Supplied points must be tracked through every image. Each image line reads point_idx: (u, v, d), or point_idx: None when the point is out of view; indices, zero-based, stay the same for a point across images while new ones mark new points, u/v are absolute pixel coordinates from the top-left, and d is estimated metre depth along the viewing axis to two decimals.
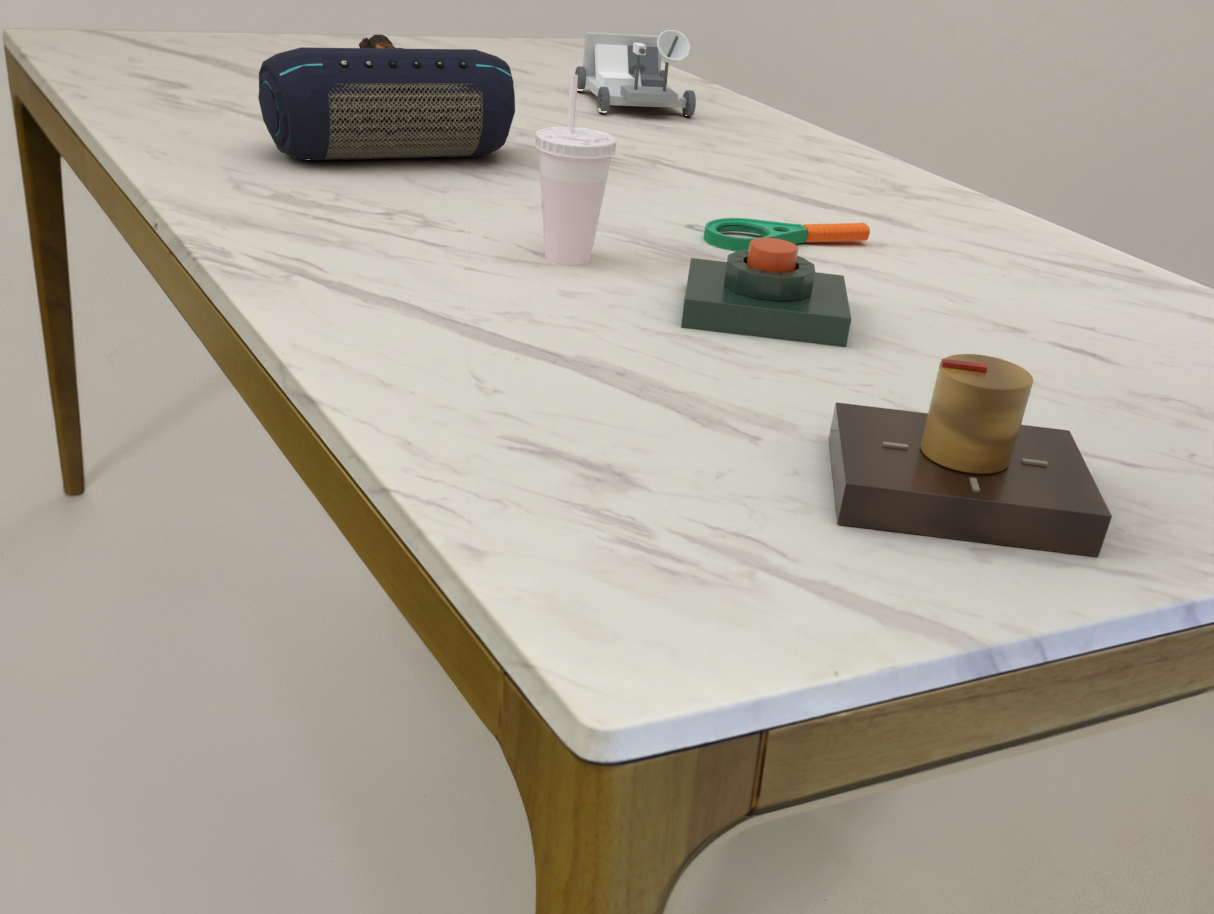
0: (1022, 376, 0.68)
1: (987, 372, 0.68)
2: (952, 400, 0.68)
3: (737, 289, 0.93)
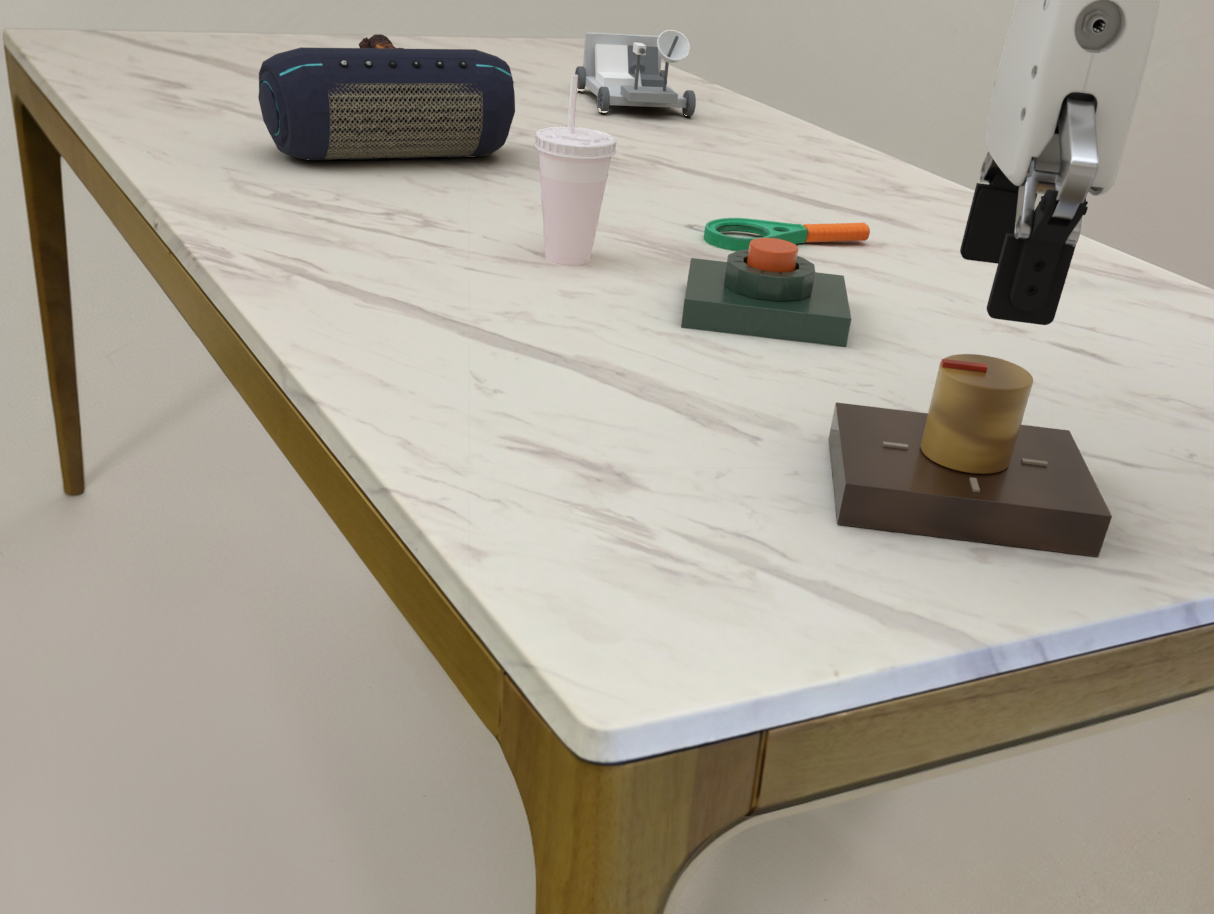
0: (1022, 376, 0.68)
1: (987, 372, 0.68)
2: (952, 400, 0.68)
3: (737, 289, 0.93)
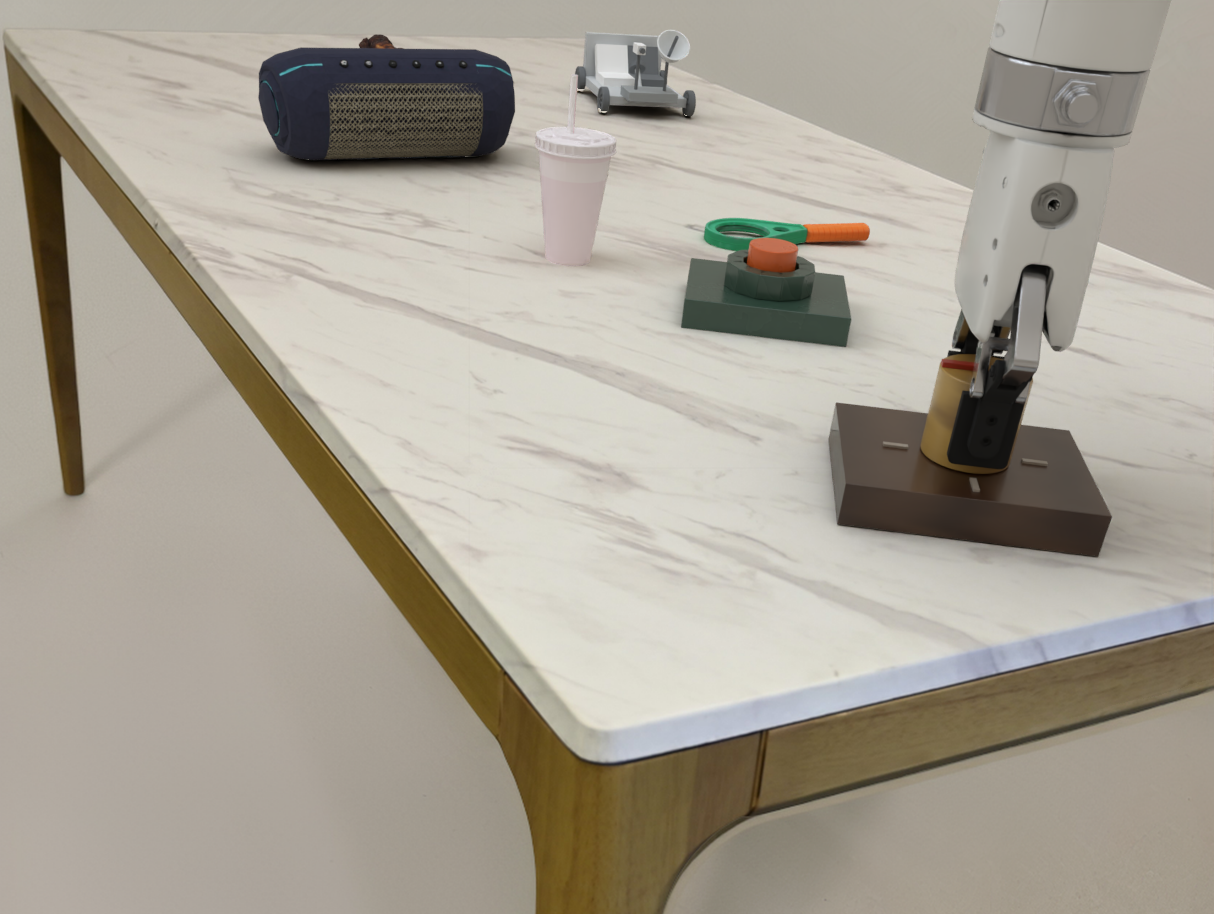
0: None
1: None
2: (952, 400, 0.68)
3: (737, 289, 0.93)
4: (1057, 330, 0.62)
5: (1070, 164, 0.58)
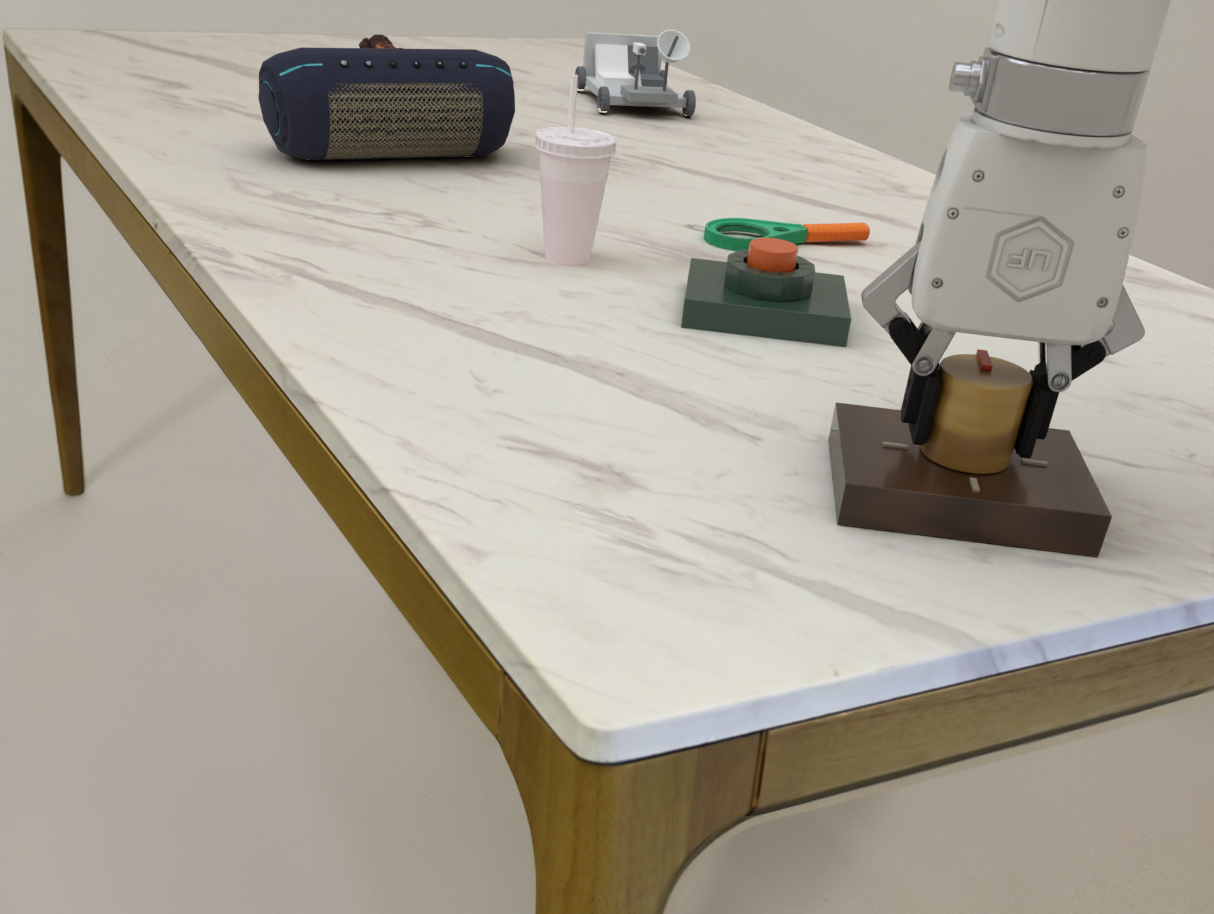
0: (986, 383, 0.67)
1: (982, 370, 0.69)
2: None
3: (737, 289, 0.93)
4: (913, 292, 0.65)
5: (953, 133, 0.62)
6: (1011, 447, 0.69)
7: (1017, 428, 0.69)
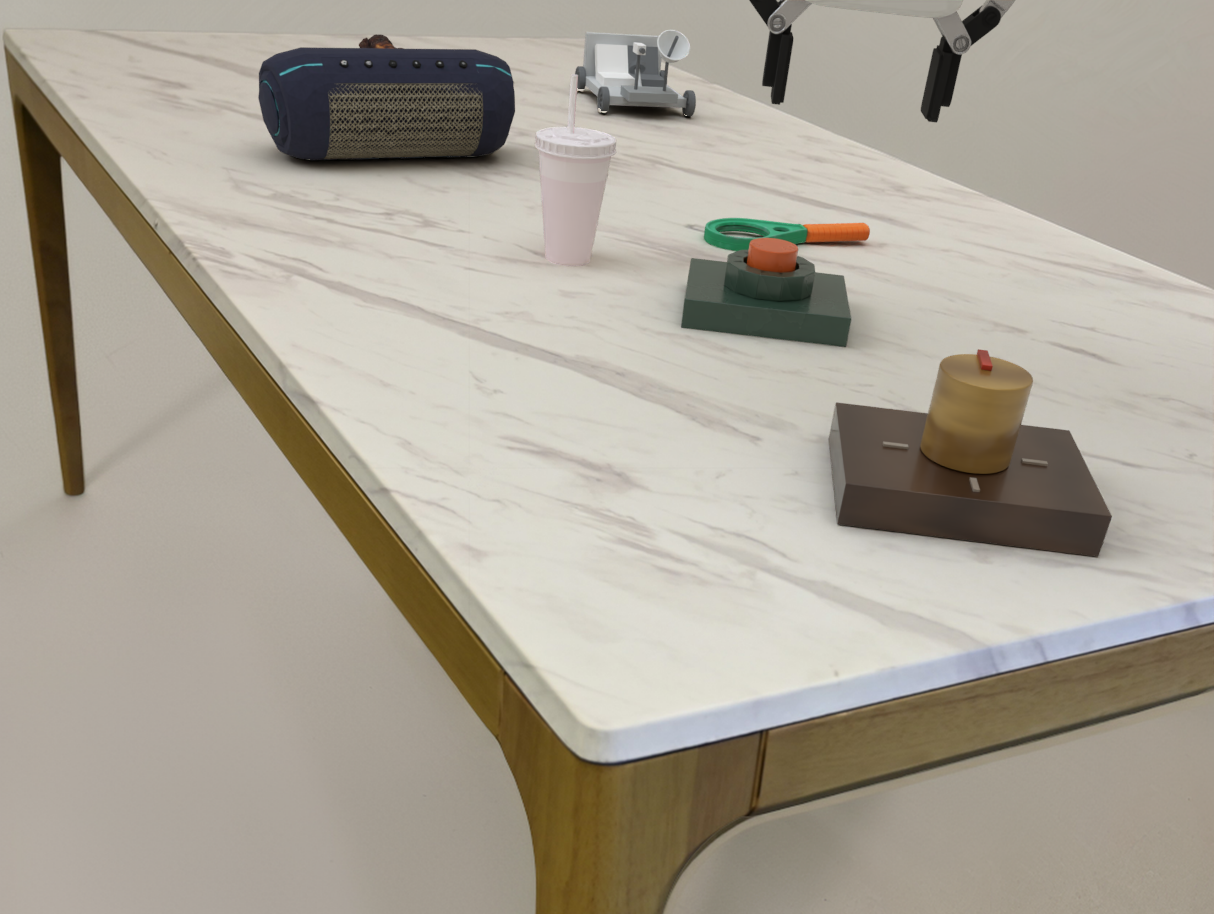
0: (986, 383, 0.67)
1: (982, 370, 0.69)
2: None
3: (737, 289, 0.93)
4: None
5: None
6: (1011, 447, 0.69)
7: (1017, 428, 0.69)
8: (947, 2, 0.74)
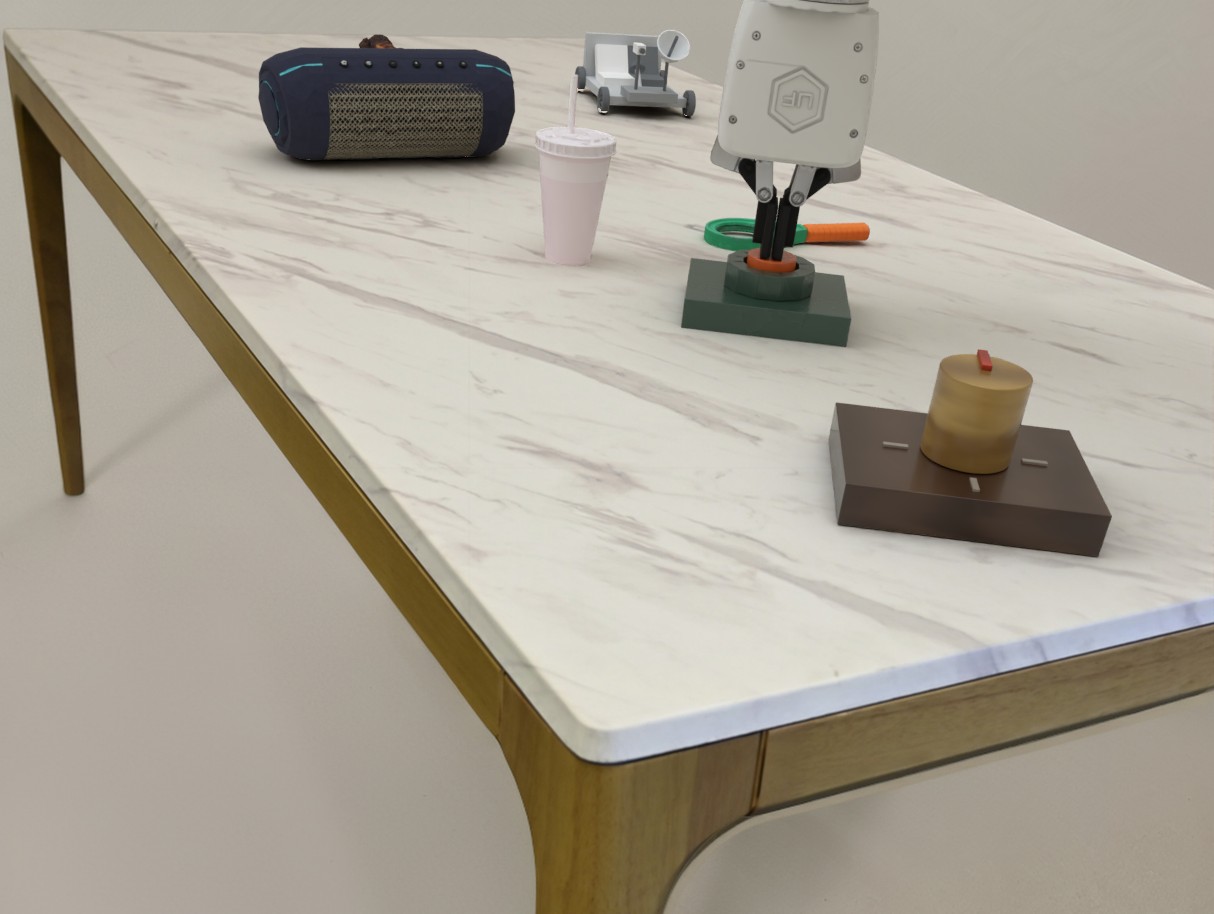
0: (986, 383, 0.67)
1: (982, 370, 0.69)
2: None
3: (737, 289, 0.93)
4: (718, 128, 0.88)
5: None
6: (1011, 447, 0.69)
7: (1017, 428, 0.69)
8: (847, 156, 0.87)
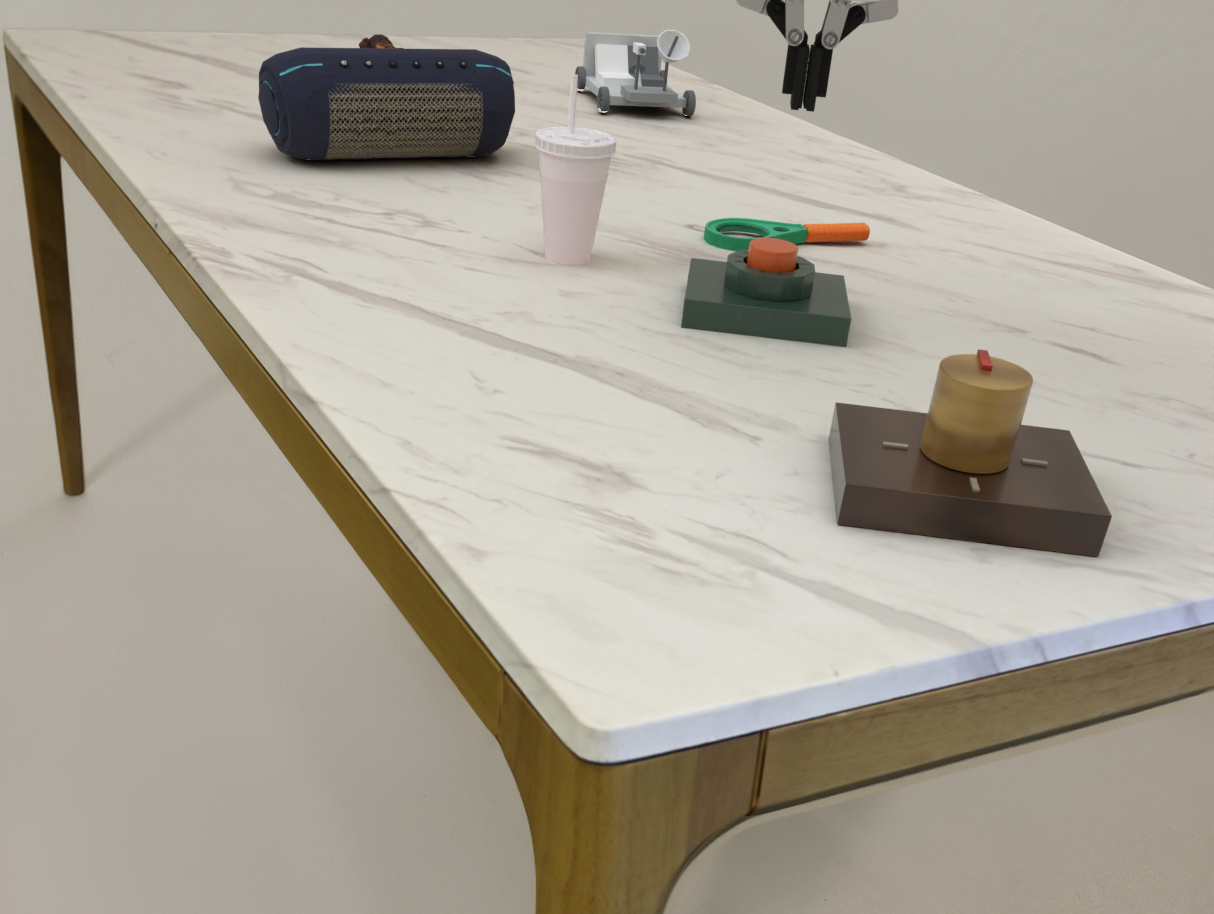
0: (986, 383, 0.67)
1: (982, 370, 0.69)
2: None
3: (737, 289, 0.93)
4: None
5: None
6: (1011, 447, 0.69)
7: (1017, 428, 0.69)
8: None
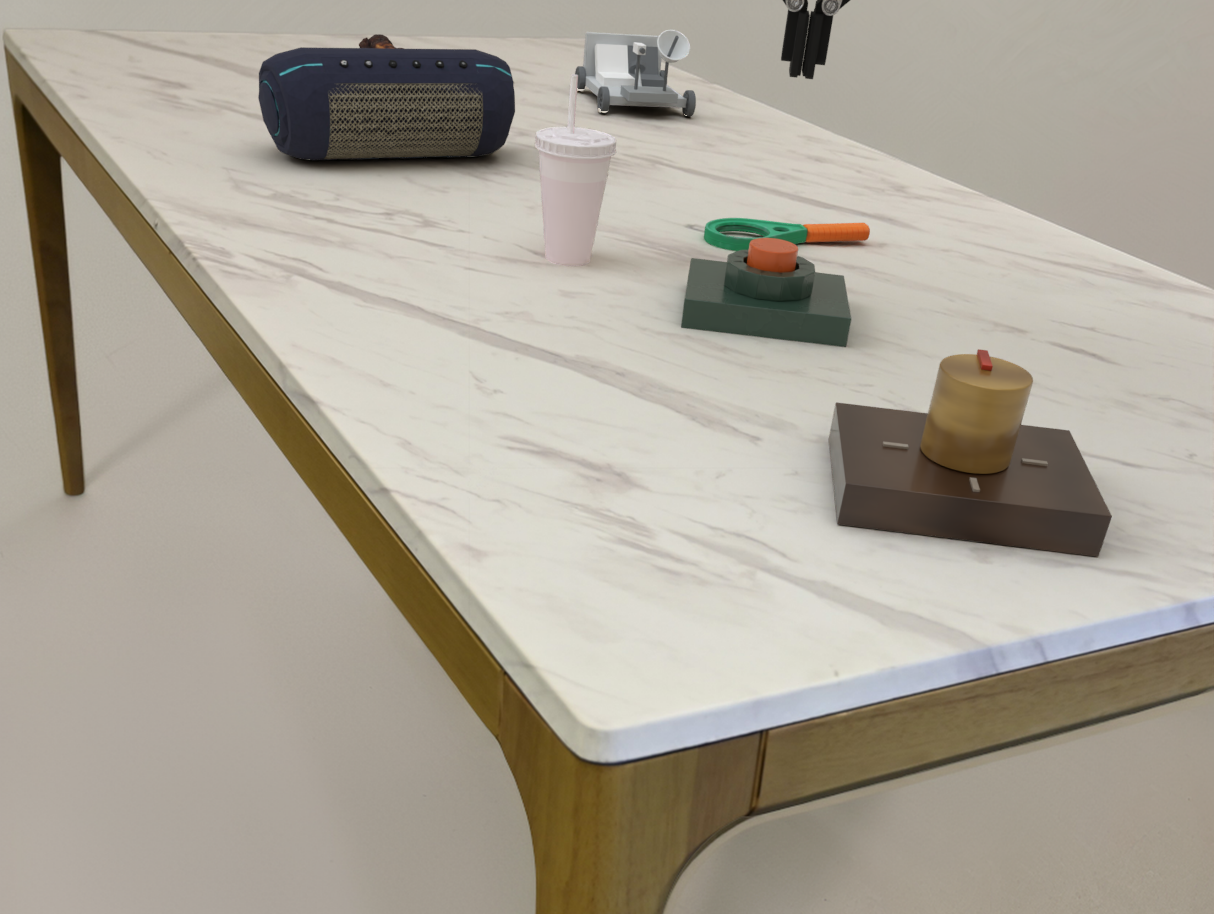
0: (986, 383, 0.67)
1: (982, 370, 0.69)
2: None
3: (737, 289, 0.93)
4: None
5: None
6: (1011, 447, 0.69)
7: (1017, 428, 0.69)
8: None
